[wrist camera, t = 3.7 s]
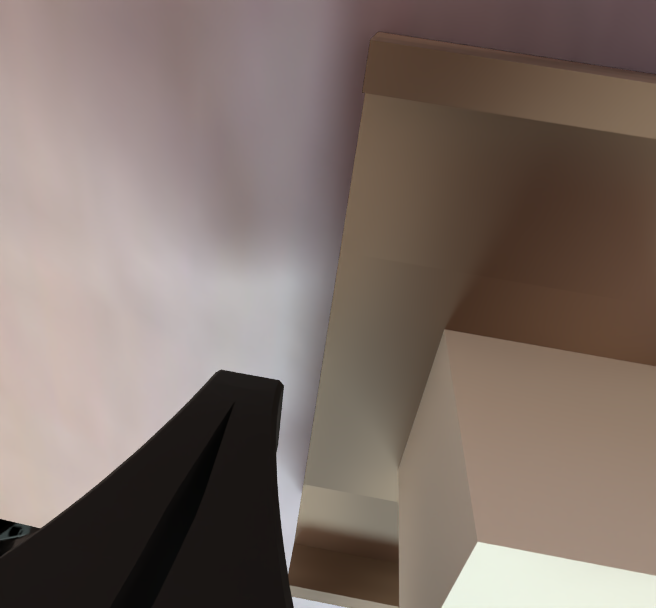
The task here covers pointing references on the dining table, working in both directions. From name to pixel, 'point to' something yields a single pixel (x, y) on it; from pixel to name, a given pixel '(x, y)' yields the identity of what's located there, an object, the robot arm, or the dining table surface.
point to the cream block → (529, 480)
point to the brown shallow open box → (467, 265)
